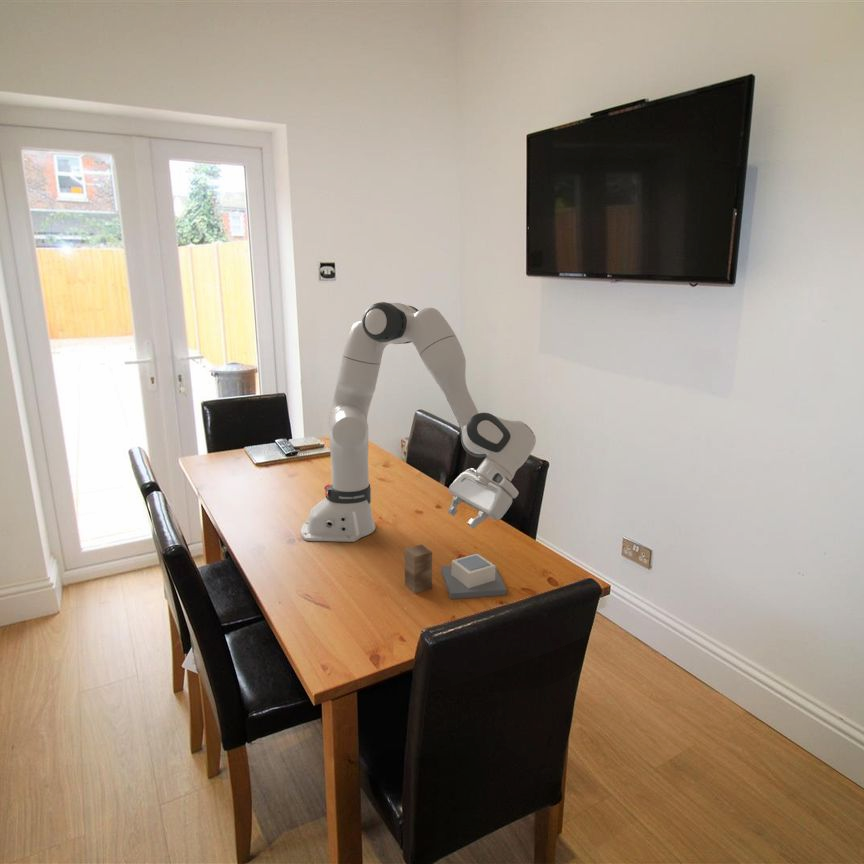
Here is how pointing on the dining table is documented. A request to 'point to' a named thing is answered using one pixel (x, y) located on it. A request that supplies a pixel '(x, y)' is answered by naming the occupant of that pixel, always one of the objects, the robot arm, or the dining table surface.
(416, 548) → the walnut column
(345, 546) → the dining table surface
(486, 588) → the base board
